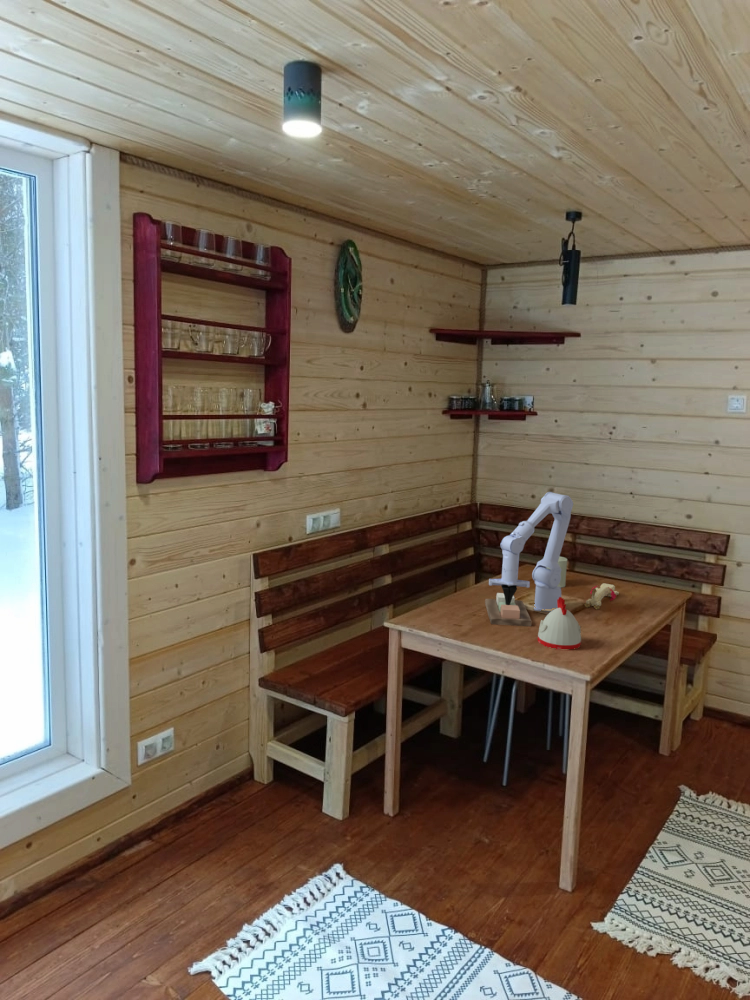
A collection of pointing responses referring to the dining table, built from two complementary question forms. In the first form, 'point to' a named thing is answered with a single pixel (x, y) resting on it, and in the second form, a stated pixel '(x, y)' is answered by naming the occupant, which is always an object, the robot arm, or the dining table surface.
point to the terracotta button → (510, 611)
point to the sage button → (503, 604)
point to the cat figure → (601, 595)
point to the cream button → (503, 598)
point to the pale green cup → (562, 570)
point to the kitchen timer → (560, 629)
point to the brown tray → (497, 619)
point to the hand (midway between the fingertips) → (507, 605)
